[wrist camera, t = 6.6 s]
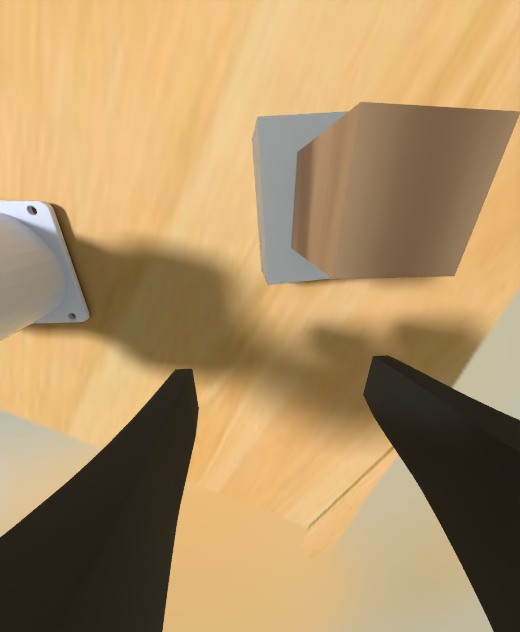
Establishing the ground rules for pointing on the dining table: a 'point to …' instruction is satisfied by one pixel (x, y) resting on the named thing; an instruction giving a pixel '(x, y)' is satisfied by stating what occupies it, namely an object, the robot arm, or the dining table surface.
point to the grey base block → (283, 191)
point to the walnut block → (396, 188)
